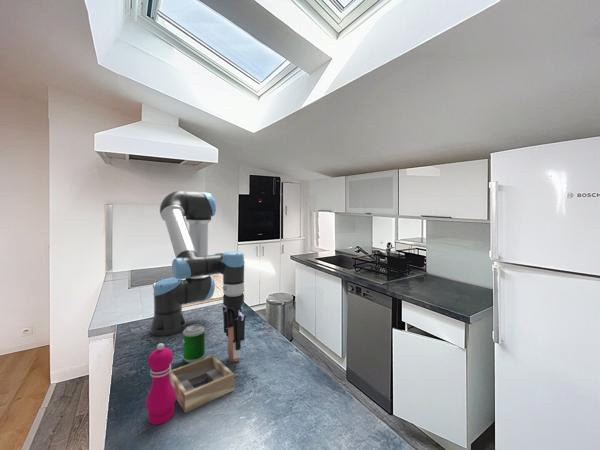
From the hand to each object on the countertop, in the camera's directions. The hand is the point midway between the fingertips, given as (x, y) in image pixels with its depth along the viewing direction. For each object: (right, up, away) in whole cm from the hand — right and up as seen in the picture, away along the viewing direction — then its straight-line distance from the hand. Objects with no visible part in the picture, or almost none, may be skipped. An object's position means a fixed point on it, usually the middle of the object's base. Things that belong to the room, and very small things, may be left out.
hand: (233, 355), depth 103 cm
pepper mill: (-13, -3, -29) cm, 31 cm away
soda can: (-15, -2, 0) cm, 15 cm away
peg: (0, -2, 0) cm, 2 cm away
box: (-6, -2, -17) cm, 18 cm away
